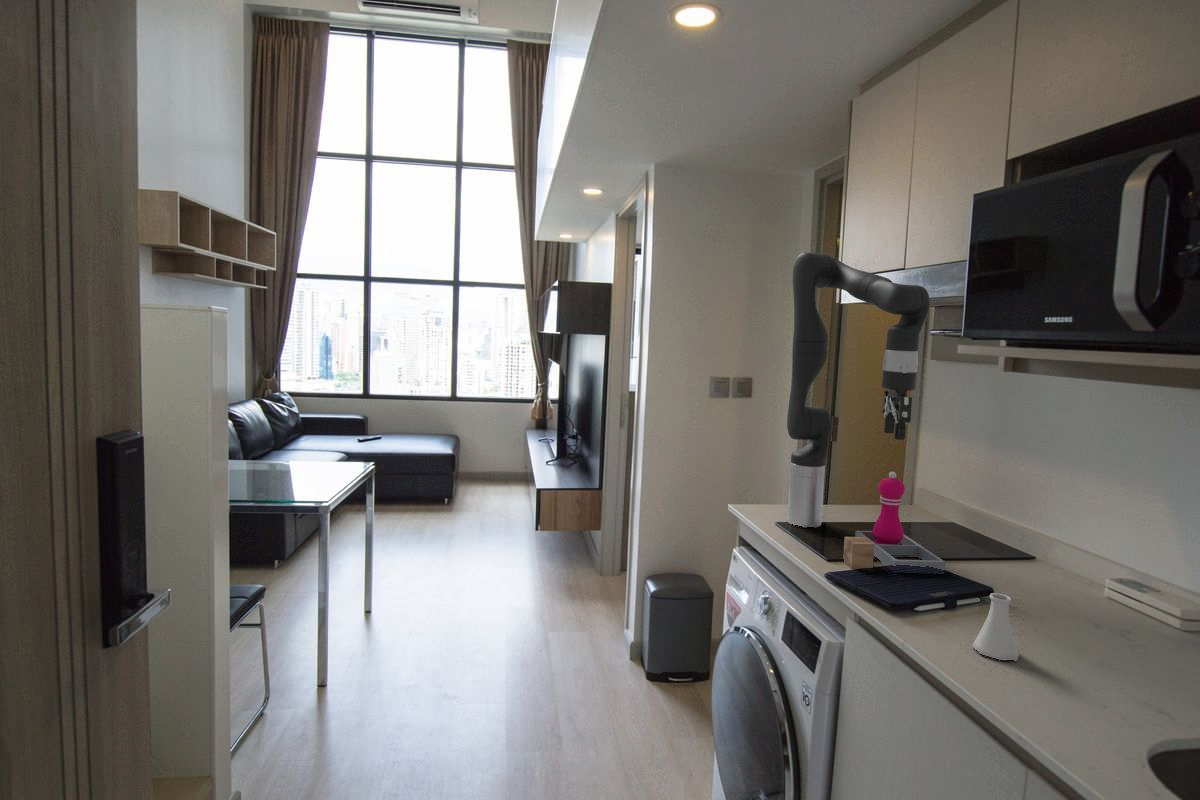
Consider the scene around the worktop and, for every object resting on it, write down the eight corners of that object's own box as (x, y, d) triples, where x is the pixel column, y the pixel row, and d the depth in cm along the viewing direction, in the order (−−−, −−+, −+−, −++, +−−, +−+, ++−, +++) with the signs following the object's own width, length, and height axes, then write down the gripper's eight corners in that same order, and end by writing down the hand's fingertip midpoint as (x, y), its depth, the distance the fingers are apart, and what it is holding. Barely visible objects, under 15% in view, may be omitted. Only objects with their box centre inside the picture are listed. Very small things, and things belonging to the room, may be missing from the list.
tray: (854, 541, 174) (855, 530, 174) (898, 542, 174) (899, 531, 174) (893, 573, 152) (894, 560, 152) (944, 574, 152) (945, 561, 152)
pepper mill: (872, 552, 166) (878, 473, 164) (870, 543, 173) (875, 467, 171) (904, 556, 164) (910, 476, 162) (900, 547, 171) (906, 470, 169)
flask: (1024, 666, 111) (1030, 608, 110) (975, 657, 113) (980, 600, 112) (1014, 647, 118) (1019, 592, 116) (968, 639, 120) (973, 585, 119)
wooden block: (842, 561, 159) (844, 536, 159) (863, 561, 160) (865, 537, 159) (851, 568, 154) (852, 543, 154) (872, 569, 155) (874, 544, 154)
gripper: (875, 366, 167) (869, 430, 169) (892, 371, 153) (886, 440, 155) (906, 367, 166) (901, 432, 168) (926, 372, 152) (920, 442, 154)
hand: (893, 436), depth 162 cm, fingers open, 8 cm apart
